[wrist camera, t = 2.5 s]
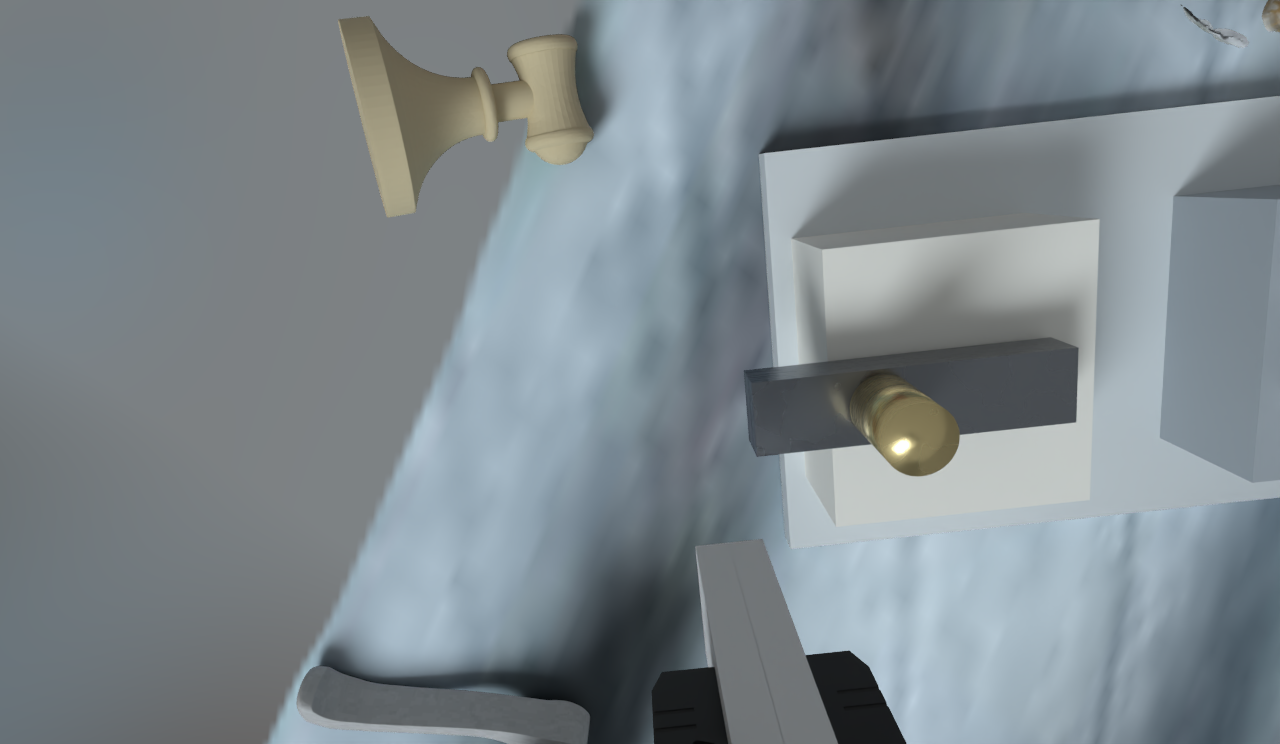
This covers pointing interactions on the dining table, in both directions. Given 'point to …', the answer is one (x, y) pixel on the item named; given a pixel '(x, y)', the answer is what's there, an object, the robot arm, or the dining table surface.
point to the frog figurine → (1275, 18)
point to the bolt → (912, 400)
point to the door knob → (457, 107)
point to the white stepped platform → (1042, 309)
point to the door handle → (437, 711)
